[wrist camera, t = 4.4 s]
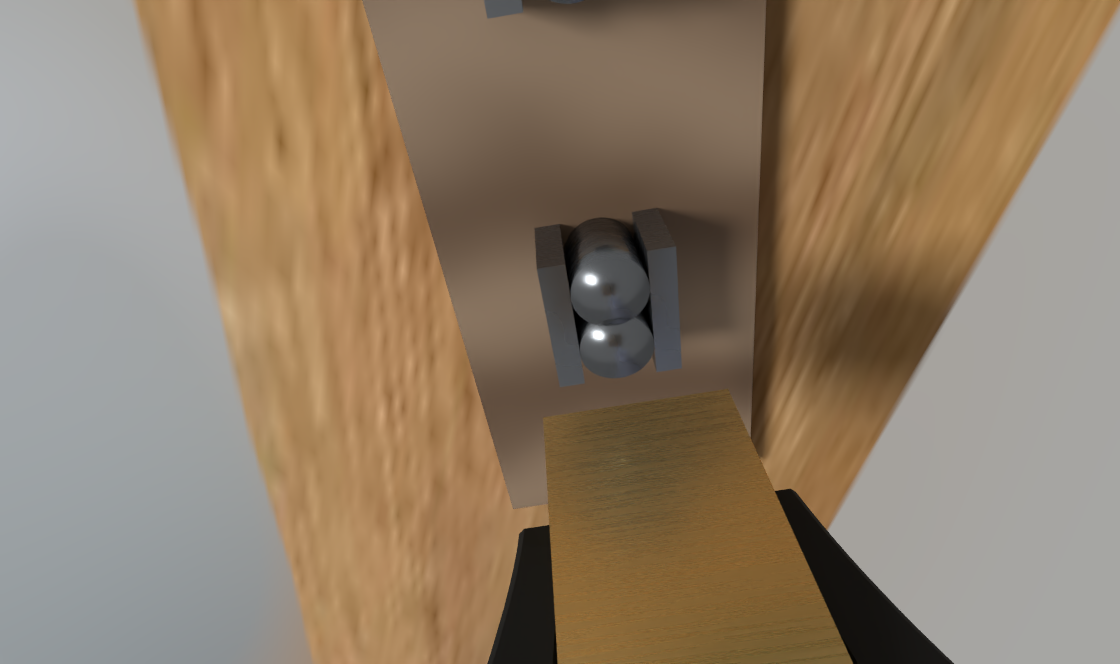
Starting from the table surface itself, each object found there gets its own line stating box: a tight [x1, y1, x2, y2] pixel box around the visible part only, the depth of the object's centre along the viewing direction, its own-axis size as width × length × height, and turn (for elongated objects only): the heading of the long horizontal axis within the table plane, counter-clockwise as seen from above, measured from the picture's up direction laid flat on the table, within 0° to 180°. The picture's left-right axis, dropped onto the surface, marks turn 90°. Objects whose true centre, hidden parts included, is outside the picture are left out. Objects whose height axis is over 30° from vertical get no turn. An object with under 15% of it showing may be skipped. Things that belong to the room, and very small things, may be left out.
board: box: [362, 0, 766, 509], centre depth 17 cm, size 22×9×1 cm, turn 9°
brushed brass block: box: [543, 389, 853, 664], centre depth 10 cm, size 4×4×7 cm
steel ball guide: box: [484, 0, 682, 387], centre depth 14 cm, size 14×3×2 cm, turn 9°
